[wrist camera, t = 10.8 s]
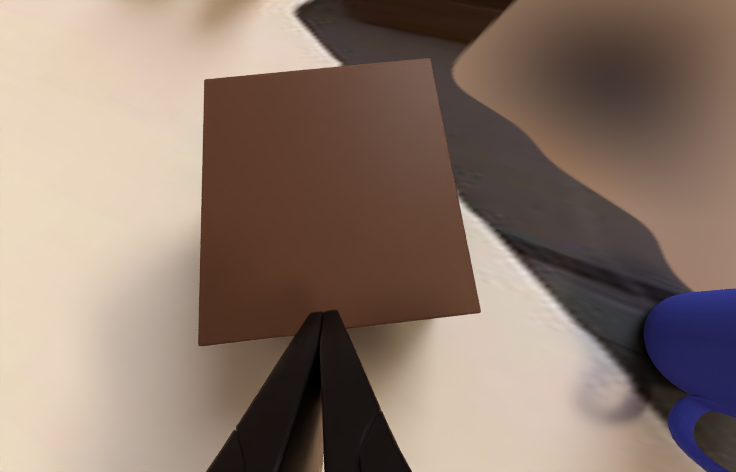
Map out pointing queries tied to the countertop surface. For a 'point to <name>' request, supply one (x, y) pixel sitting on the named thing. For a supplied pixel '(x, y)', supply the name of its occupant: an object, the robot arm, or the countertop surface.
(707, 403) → the mug
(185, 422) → the countertop surface
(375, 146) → the brown square block
